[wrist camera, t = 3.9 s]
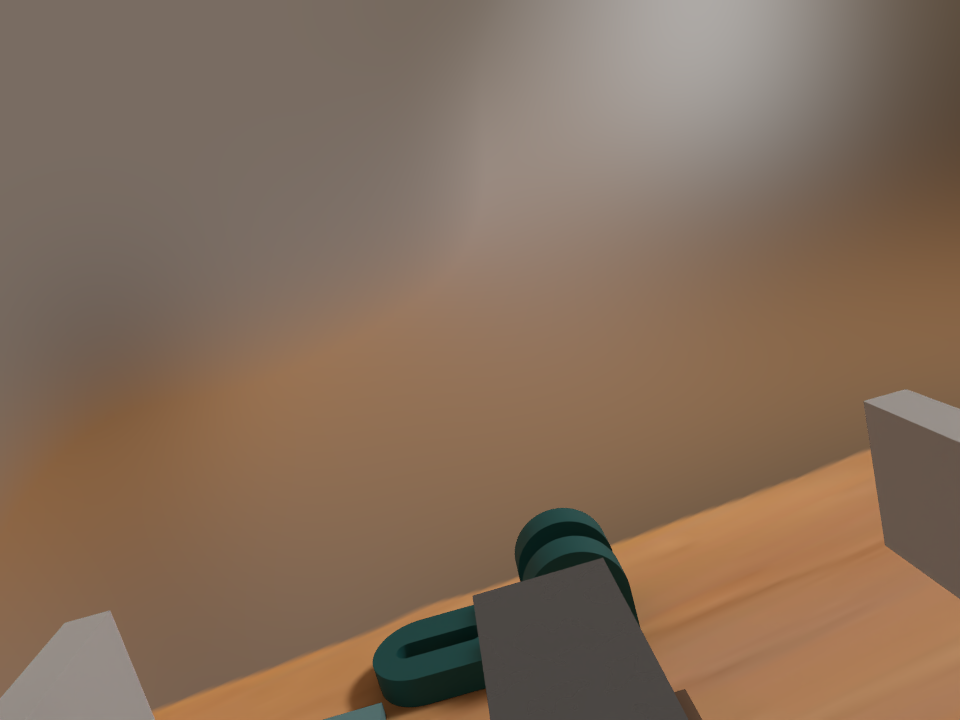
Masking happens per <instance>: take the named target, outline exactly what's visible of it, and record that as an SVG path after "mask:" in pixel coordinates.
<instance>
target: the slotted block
mask: <svg viewBox="0 0 960 720" xmlns="http://www.w3.org/2000/svg"><path fill="white" fill-rule="evenodd" d="M674 693H675V695H676V697H677V699H678V701H679V703H680V704H681V706H682V708H683V710H684V712H685V714H686V716H687V718H688V720H702V719H701V717H700V715H699V713H698V711H697V710H696V708H695V706H694V704H693V702H692V701H691V699H690V697H689V695H688V693H687V692H686V690H685V689H684V690H681V691H677V692H674Z"/></svg>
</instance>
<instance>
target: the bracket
mask: <svg viewBox="0 0 960 720" xmlns="http://www.w3.org/2000/svg"><path fill="white" fill-rule="evenodd" d="M600 558H603V559H604V561H605V563H606V564H607V566H608V568H609V570H610V572H611V574H612V576H613V578H614V580H615V581H616V583H617V585H618V587H619V589H620V591H621V593H622V595H623V597H624V598H625V600H626V602H627V604H628V606H629V608H630V610H631V612H632V614H633V616H634V617H635V619H636V621H637V623H638V625H639V621H638V617H637V613H636V609H635V605H634V601H633V597H632V593H631V589H630V585H629V582H628V579H627V577H626V575H625V573H624V571H623V569H622V567H621V566H620V564H619V562H618V560H617V558H616V556H615V555H614V554H613V552H612V549H611V546H610V544H609V542H608V541H607V539H606V537H605V535H604V533H603V531H602V529H601V528H600V526H599V525H598V523H597V522H596V521H595V520H594V519H593V518H591V517H590V516H588V515H587V514H585V513H583V512H581V511H578V510H575V509H570V508H557V509H551V510H548V511H545V512H543V513H541V514H539V515H537V516H536V517H534V518H533V519H531V520H530V521H529V522H528V523H527V524H526V525H525V527H524V528H523V529H522V531H521V532H520V534H519V536H518V539H517V542H516V546H515V560H516V565H517V569H518V573H519V578H520V581H521V582H522V581H525V580H528V579H532V578H535V577H539V576H542V575H546V574H549V573H552V572H556V571H559V570H563V569H566V568H570V567H573V566H576V565H580V564H583V563H587V562H590V561H593V560H597V559H600ZM639 627H640V625H639ZM373 668H374V671H375V673H376V676H377V679H378V682H379V685H380V688H381V691H382V694H383V696H384V697H385V699H386V700H387V701H389V702H390V703H392V704H394V705H397V706H401V707H419V706H424V705H428V704H432V703H435V702H439V701H442V700H446V699H449V698H453V697H456V696H460V695H463V694H467V693H471V692H474V691H478V690H481V689H485V688H486V686H485V679H484V672H483V665H482V658H481V651H480V644H479V637H478V630H477V623H476V616H475V609H474V605H472V606H468V607H465V608H461V609H457V610H454V611H450V612H447V613H443V614H440V615H436V616H433V617H429V618H426V619H422V620H419V621H416V622H413V623H410V624H408V625H406V626H404V627H402V628H400V629H398V630H397V631H395V632H394V633H392V634H391V635H390V636H389V637H387V638H386V639H385V640H384V641H383V642H382V643H381V645H380V646H379V647H378V649H377V650H376V652H375V654H374V657H373Z"/></svg>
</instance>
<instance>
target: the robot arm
mask: <svg viewBox="0 0 960 720" xmlns="http://www.w3.org/2000/svg"><path fill="white" fill-rule="evenodd" d="M864 408H865V414H866V421H867V428H868V434H869V441H870V448H871V454H872V461H873V468H874V474H875V481H876V488H877V494H878V501H879V508H880V514H881V521H882V527H883V534H884V541H885V545H886V546H887V547H888V548H890V549H891V550H893V551H894V552H895V553H897V554H898V555H900V556H901V557H902V558H904V559H905V560H906V561H908V562H909V563H911V564H912V565H913V566H915V567H916V568H918V569H919V570H920V571H922V572H923V573H925V574H926V575H927V576H929V577H930V578H932V579H933V580H934V581H936V582H937V583H938V584H940V585H941V586H943V587H944V588H945V589H947V590H948V591H950V592H951V593H952V594H954V595H955V596H957V597H958V598H959V599H960V409H958V408H956V407H953V406H950V405H948V404H945V403H942V402H939V401H937V400H934V399H931V398H929V397H926V396H923V395H920V394H918V393H915V392H912V391H909V390H906V389H905V390H902V391H898V392H894V393H891V394H887V395H884V396H880V397H876V398H873V399H869V400H866V401H864ZM0 720H155V719H154V716H153V714H152V711H151V709H150V707H149V704H148V702H147V700H146V697H145V694H144V692H143V690H142V687H141V685H140V682H139V680H138V677H137V675H136V672H135V670H134V668H133V665H132V663H131V660H130V658H129V655H128V653H127V650H126V648H125V646H124V643H123V641H122V638H121V636H120V633H119V631H118V629H117V626H116V624H115V621H114V619H113V616H112V614H111V612H110V610H109V611H106V612H102V613H99V614H95V615H92V616H88V617H85V618H81V619H77V620H74V621H70V622H66V623H64V624H63V626H62V627H61V628H60V629H59V630H58V631H57V633H56V634H55V635H54V636H53V637H52V639H51V640H50V641H49V642H48V643H47V644H46V646H45V647H44V648H43V649H42V650H41V651H40V653H39V654H38V655H37V656H36V657H35V658H34V660H33V661H32V662H31V663H30V664H29V666H28V667H27V668H26V669H25V670H24V671H23V672H22V674H21V675H20V676H19V677H18V678H17V679H16V681H15V682H14V683H13V684H12V685H11V687H10V688H9V689H8V690H7V691H6V692H5V693H4V695H3V696H2V697H1V698H0Z"/></svg>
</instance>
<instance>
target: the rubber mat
mask: <svg viewBox="0 0 960 720" xmlns="http://www.w3.org/2000/svg"><path fill="white" fill-rule="evenodd" d="M324 720H386V714H385V711H384V708H383V705H382V702H381V703H378V704H375V705H371V706H368V707H365V708H361V709H358V710H354V711H351V712H348V713H344V714H341V715H337V716H334V717H331V718H327V719H324Z"/></svg>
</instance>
